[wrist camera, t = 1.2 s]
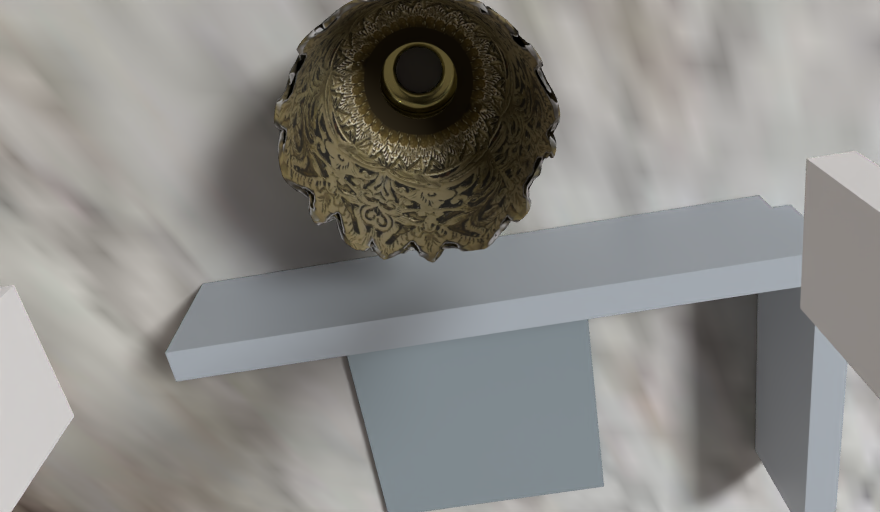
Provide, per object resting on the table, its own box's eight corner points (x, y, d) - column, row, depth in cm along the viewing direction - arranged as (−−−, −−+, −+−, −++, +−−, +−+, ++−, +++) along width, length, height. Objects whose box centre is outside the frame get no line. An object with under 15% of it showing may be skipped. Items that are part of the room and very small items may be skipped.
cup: (464, 200, 30) (477, 304, 22) (282, 118, 28) (233, 201, 21) (562, 19, 27) (612, 72, 20) (366, -84, 25) (342, -67, 18)
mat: (342, 330, 32) (341, 335, 32) (584, 293, 31) (585, 298, 31) (389, 509, 36) (389, 516, 36) (602, 480, 36) (604, 486, 35)
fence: (202, 283, 31) (165, 353, 26) (791, 190, 30) (856, 246, 25) (282, 516, 36) (262, 606, 32) (782, 446, 35) (834, 530, 31)
